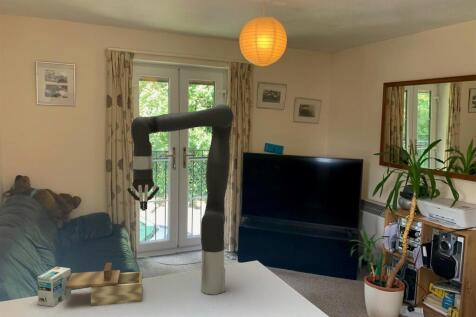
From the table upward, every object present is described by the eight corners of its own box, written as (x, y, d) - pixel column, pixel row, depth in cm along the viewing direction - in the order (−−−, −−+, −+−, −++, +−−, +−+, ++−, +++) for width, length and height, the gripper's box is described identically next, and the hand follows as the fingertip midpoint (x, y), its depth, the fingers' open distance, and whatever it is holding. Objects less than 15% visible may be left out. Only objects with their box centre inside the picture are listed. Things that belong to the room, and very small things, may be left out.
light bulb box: (53, 307, 135) (52, 278, 134) (37, 305, 136) (36, 276, 136) (72, 294, 146) (71, 267, 145) (57, 292, 147) (56, 266, 146)
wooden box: (142, 288, 152) (142, 271, 152) (141, 301, 141) (141, 283, 140) (95, 291, 148) (95, 274, 147) (91, 306, 136) (90, 287, 136)
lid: (120, 272, 150) (119, 260, 149) (117, 284, 138) (117, 271, 137) (72, 275, 145) (71, 263, 145) (65, 288, 134) (64, 275, 133)
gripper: (159, 166, 152) (160, 207, 154) (126, 166, 149) (126, 209, 151) (160, 168, 145) (160, 211, 146) (125, 168, 142) (126, 213, 143)
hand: (143, 210), depth 148 cm, fingers closed
